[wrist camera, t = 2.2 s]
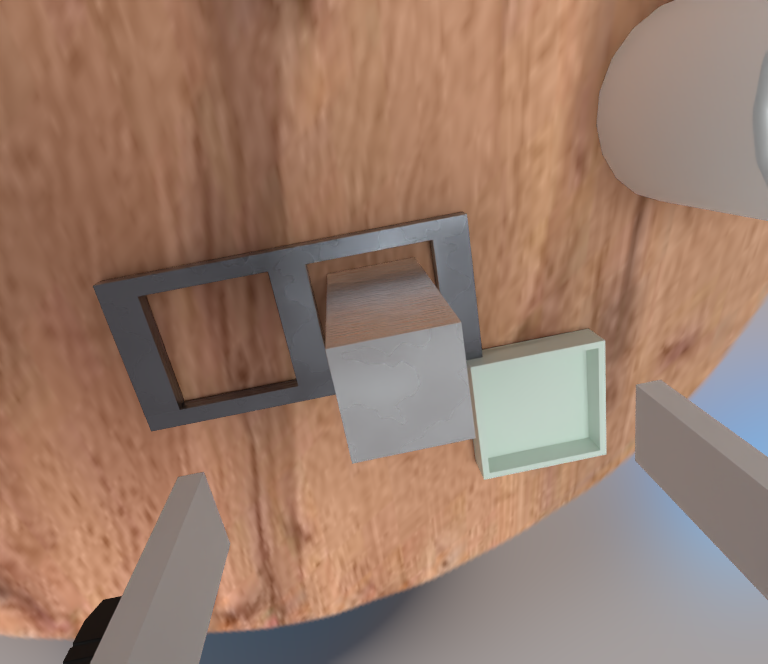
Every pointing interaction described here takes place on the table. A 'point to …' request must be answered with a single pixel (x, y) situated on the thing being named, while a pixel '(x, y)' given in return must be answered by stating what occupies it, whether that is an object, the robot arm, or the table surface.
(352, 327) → the grey rectangular block
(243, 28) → the table surface
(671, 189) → the mug
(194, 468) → the table surface
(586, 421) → the tray
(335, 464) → the table surface
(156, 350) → the double window frame
